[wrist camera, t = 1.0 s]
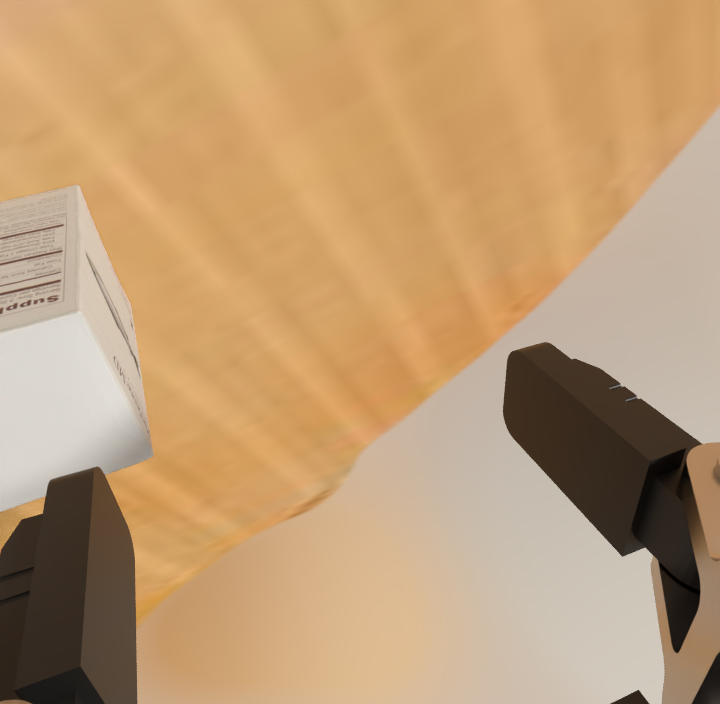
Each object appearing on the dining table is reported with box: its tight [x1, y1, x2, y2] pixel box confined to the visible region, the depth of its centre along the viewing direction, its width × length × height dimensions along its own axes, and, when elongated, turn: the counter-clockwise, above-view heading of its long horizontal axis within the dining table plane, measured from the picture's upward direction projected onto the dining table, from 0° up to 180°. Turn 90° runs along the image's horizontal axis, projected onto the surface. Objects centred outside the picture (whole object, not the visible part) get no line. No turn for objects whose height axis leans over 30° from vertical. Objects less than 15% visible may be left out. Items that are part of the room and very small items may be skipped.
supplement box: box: [0, 185, 154, 512], centre depth 23 cm, size 7×7×13 cm
